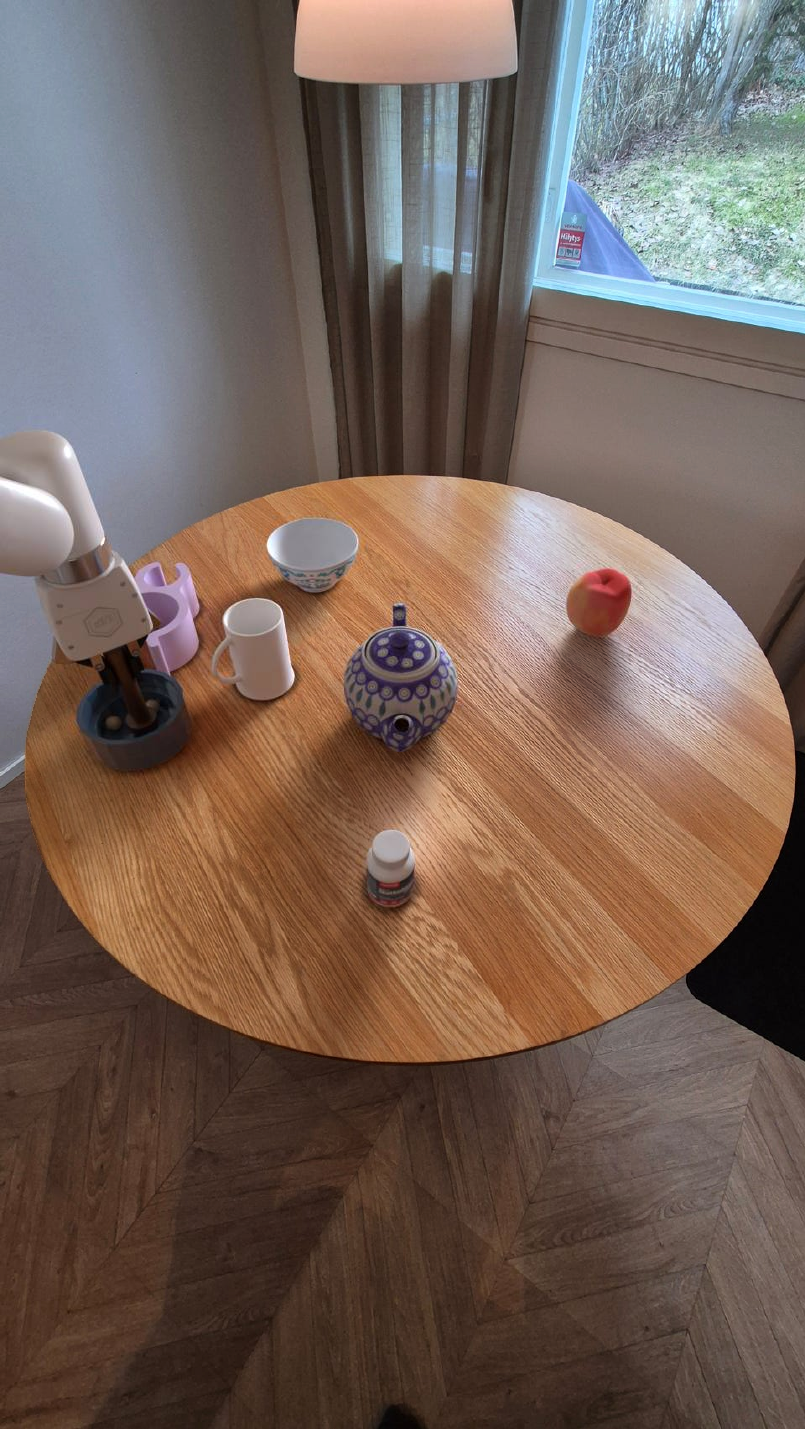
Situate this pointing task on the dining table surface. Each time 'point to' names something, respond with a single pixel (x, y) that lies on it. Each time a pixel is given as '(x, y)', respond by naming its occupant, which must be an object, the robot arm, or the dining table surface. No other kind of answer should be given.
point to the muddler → (131, 694)
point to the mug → (256, 649)
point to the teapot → (400, 683)
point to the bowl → (121, 744)
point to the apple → (599, 602)
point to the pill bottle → (390, 869)
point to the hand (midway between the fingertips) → (125, 679)
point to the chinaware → (313, 552)
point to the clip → (170, 615)
